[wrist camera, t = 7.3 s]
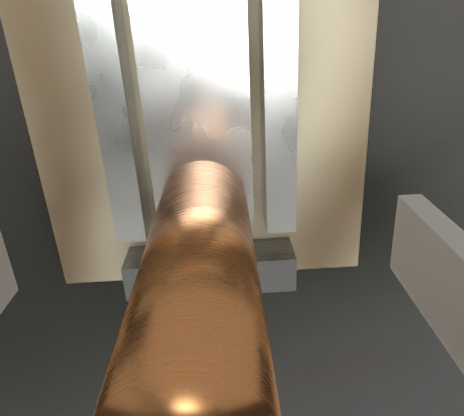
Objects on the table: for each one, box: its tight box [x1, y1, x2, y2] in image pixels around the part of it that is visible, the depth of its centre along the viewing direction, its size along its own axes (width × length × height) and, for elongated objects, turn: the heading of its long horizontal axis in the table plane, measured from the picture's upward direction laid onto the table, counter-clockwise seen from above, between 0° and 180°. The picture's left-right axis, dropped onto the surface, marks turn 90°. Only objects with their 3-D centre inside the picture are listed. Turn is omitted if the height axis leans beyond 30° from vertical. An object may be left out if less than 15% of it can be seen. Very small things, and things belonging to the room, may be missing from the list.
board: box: [0, 0, 379, 284], centre depth 18 cm, size 14×15×1 cm
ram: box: [93, 0, 281, 416], centre depth 11 cm, size 8×12×12 cm, turn 3°
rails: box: [74, 0, 299, 301], centre depth 17 cm, size 7×12×2 cm, turn 3°
